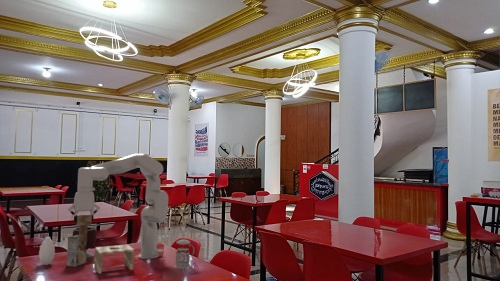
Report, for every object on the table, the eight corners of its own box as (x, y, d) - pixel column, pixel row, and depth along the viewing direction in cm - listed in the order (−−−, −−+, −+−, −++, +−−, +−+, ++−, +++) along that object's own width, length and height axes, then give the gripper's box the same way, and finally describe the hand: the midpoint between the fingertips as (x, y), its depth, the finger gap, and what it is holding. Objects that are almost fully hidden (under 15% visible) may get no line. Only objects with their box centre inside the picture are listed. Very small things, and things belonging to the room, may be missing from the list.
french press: (172, 264, 224) (173, 221, 226) (191, 263, 229) (192, 221, 230) (175, 269, 215) (177, 224, 217) (195, 267, 220) (197, 223, 221)
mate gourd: (68, 259, 230) (70, 225, 231) (73, 254, 243) (75, 222, 245) (96, 258, 234) (97, 225, 235) (99, 253, 247) (101, 222, 248)
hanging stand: (126, 263, 224) (127, 244, 224) (132, 269, 212) (133, 249, 212) (94, 267, 214) (95, 247, 215) (98, 273, 202) (99, 252, 203)
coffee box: (76, 261, 225) (78, 234, 226) (86, 262, 223) (87, 235, 224) (66, 265, 216) (67, 237, 217) (76, 266, 214) (77, 237, 215)
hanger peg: (88, 239, 211) (89, 213, 212) (90, 241, 205) (91, 215, 206) (74, 240, 208) (76, 214, 208) (76, 242, 202) (77, 216, 202)
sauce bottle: (56, 264, 217) (58, 232, 218) (41, 267, 211) (43, 234, 213) (51, 262, 222) (52, 231, 224) (36, 264, 217) (38, 232, 218)
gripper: (100, 189, 216) (99, 221, 215) (66, 189, 207) (65, 223, 206) (103, 190, 209) (101, 222, 208) (68, 191, 200) (66, 225, 199)
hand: (83, 222), depth 207 cm, fingers closed on hanger peg, 7 cm apart
